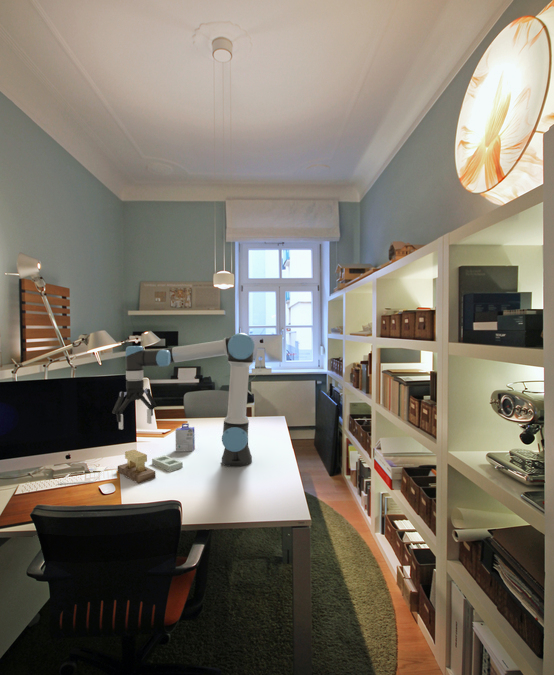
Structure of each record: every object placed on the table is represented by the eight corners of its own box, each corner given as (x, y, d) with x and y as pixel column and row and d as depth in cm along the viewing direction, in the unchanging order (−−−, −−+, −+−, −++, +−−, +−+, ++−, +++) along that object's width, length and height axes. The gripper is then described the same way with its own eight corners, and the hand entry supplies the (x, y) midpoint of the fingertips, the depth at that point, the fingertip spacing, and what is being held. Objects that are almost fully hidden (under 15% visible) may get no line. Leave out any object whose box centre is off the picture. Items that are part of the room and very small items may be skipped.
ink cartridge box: (195, 448, 209) (194, 422, 209) (193, 451, 203) (193, 425, 203) (177, 449, 208) (176, 423, 208) (175, 452, 202) (175, 425, 202)
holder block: (182, 467, 179) (182, 462, 179) (169, 471, 173) (169, 466, 173) (164, 460, 189) (164, 455, 189) (152, 463, 184) (152, 458, 184)
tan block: (147, 476, 167) (146, 454, 167) (138, 479, 164) (137, 457, 164) (134, 470, 175) (134, 449, 175) (125, 473, 172) (125, 451, 172)
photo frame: (106, 466, 179) (93, 480, 162) (106, 468, 179) (93, 483, 162) (74, 468, 178) (57, 482, 160) (75, 470, 178) (57, 485, 160)
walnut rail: (155, 477, 166) (155, 471, 166) (138, 483, 160) (138, 476, 160) (133, 467, 179) (133, 461, 179) (117, 472, 173) (117, 465, 173)
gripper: (155, 376, 181) (156, 419, 181) (103, 381, 162) (104, 430, 163) (163, 377, 176) (164, 422, 176) (111, 383, 157) (112, 432, 158)
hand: (135, 426), depth 169 cm, fingers open, 13 cm apart
